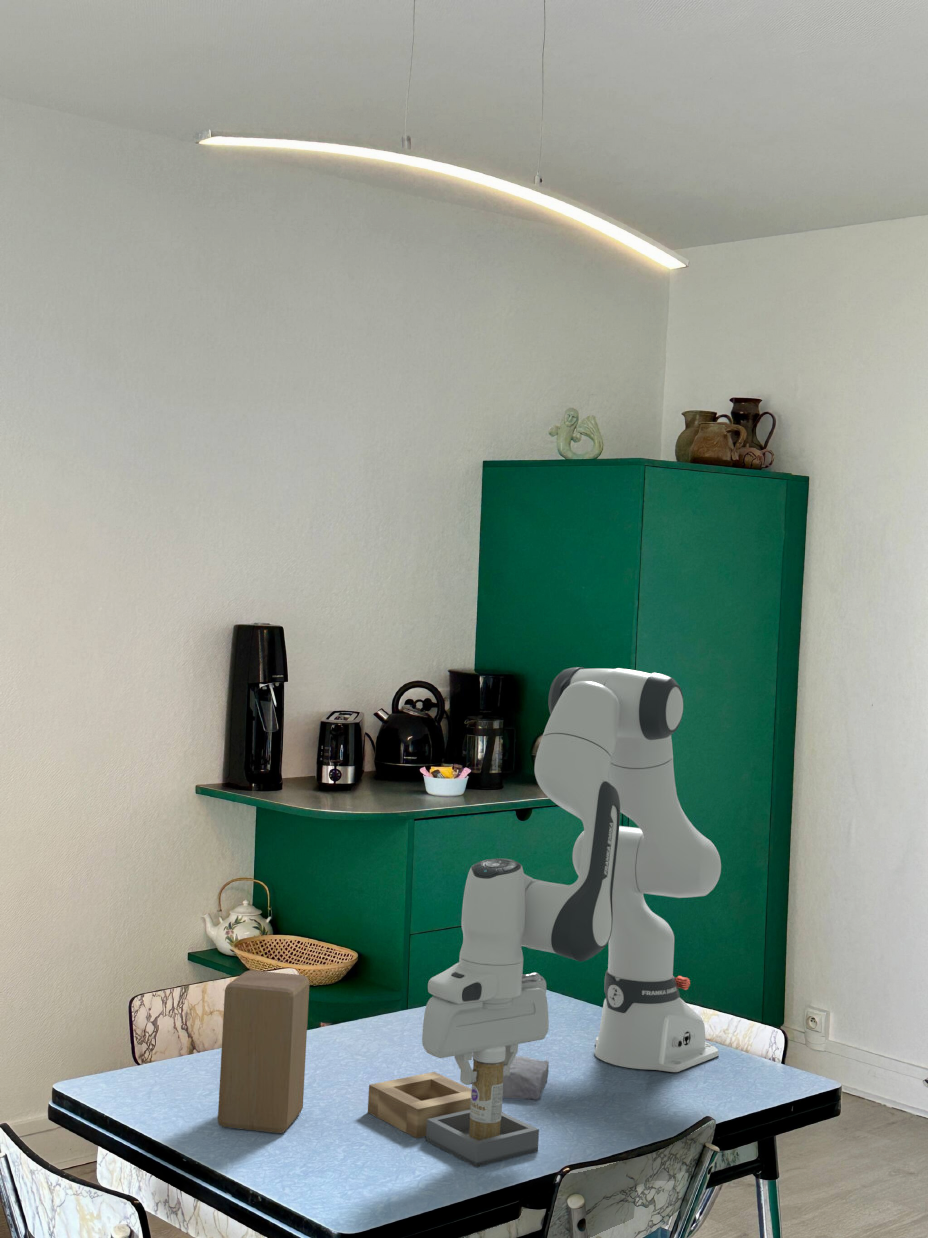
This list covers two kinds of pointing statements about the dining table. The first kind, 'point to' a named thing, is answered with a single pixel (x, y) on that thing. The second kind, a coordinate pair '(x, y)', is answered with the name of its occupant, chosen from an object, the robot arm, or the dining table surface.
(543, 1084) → the stone block
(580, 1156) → the dining table surface
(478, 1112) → the sprinkles bottle
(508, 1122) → the tray
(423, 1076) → the oak bore block
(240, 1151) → the dining table surface
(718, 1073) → the dining table surface
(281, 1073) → the wooden block
